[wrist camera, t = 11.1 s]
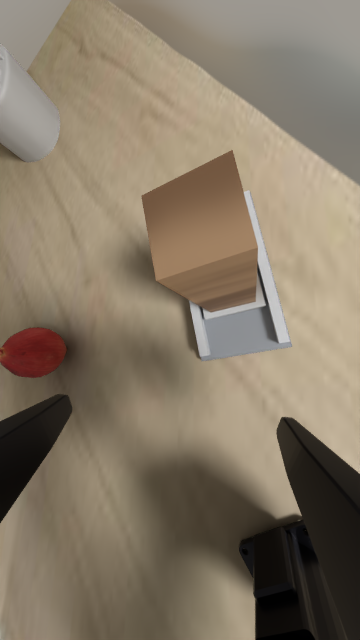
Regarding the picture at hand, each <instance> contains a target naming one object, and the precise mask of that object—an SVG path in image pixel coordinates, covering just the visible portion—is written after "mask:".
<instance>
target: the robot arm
mask: <svg viewBox="0 0 360 640" xmlns="http://www.w3.org/2000/svg"><path fill="white" fill-rule="evenodd" d="M71 413H72V405H71V402H70V399H69V396H68V395H65V394H57V395H55V396H53V397H51V398H49V399H47V400H44V401H42V402H40V403H38V404H36V405H34V406H32V407H30V408H28V409H25V410H23V411H21V412H19V413H17V414H15V415H13V416H11V417H8V418H6V419H4V420H2V421H0V523H1V521H2V520H3V518H4V517H5V516H6V514H7V513H8V511H9V510H10V508H11V507H12V505H13V504H14V502H15V501H16V499H17V498H18V497H19V495H20V494H21V492H22V491H23V489H24V488H25V486H26V485H27V483H28V482H29V480H30V479H31V478H32V476H33V475H34V473H35V472H36V470H37V469H38V467H39V466H40V464H41V463H42V461H43V460H44V459H45V457H46V456H47V454H48V453H49V451H50V450H51V448H52V447H53V445H54V443H55V442H56V440H57V438H58V436H59V435H60V433H61V431H62V429H63V427H64V426H65V424H66V422H67V420H68V419H69V417H70V415H71ZM277 439H278V443H279V446H280V450H281V454H282V458H283V462H284V466H285V469H286V473H287V476H288V479H289V482H290V485H291V488H292V490H293V493H294V496H295V499H296V501H297V504H298V507H299V509H300V512H301V515H302V517H303V520H301V521H298V522H295V523H292V524H289V525H286V526H283V527H278V528H275V529H272V530H270V531H267V532H264V533H261V534H258V535H255V536H254V537H251V538H248V539H245V540H242V541H241V542H240V544H239V552H240V554H241V556H242V558H243V560H244V562H245V564H246V566H247V567H248V569H249V571H250V573H251V575H252V577H253V594H254V597H255V640H360V474H359V473H358V472H357V471H356V470H354V469H353V468H352V467H351V466H350V465H348V464H347V463H346V462H345V461H344V460H343V459H341V458H340V457H339V456H338V455H337V454H335V453H334V452H333V451H332V450H331V449H329V448H328V447H327V446H326V445H325V444H323V443H322V442H321V441H320V440H319V439H317V438H316V437H315V436H314V435H313V434H311V433H310V432H309V431H308V430H307V429H306V428H304V427H303V426H302V425H301V424H300V423H298V422H297V421H296V420H295V419H293V418H290V417H282V418H281V420H280V422H279V425H278V428H277ZM304 528H306V529H307V531H304V530H303V529H304ZM243 548H245V549H247V550H244V549H243Z"/></svg>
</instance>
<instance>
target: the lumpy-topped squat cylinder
mask: <svg viewBox="0 0 360 640" xmlns="http://www.w3.org/2000/svg"><path fill="white" fill-rule="evenodd" d="M59 130H60V118H59V112H58V109H57V107H56V106H55V105H54V103H53V102H52V101H51V100H50V99H49V98H48V96H47V95H46V94H45V93H44V92H43V91H42V89H41V88H40V87H39V86H38V85H37V84H36V82H35V81H34V80H33V79H32V78H31V77H30V75H29V74H28V73H27V72H26V71H25V70H24V69H23V67H22V66H21V65H20V64H19V63H18V61H17V60H16V59H15V58H14V57H13V56H12V55H11V53H10V52H9V51H8V50H7V49H6V48H5V47H4V46H3V45H2V44H0V143H1V144H2V145H4V146H5V147H6V148H8V149H9V150H10V151H12V152H13V153H14V154H15V155H17V156H18V157H19V158H21V159H22V160H23V161H25V162H35V161H39V160H41V159H43V158H44V157H46V156H47V155H48V154H49V153H50V152H51V151H52V149H53V148H54V146H55V144H56V142H57V139H58V136H59Z"/></svg>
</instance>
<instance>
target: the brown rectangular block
mask: <svg viewBox="0 0 360 640" xmlns="http://www.w3.org/2000/svg"><path fill="white" fill-rule="evenodd" d="M142 202H143V208H144V214H145V219H146V225H147V231H148V237H149V243H150V248H151V254H152V260H153V266H154V272H155V278H156V281H157V282H159V283H161V284H162V285H164V286H166V287H168V288H169V289H171V290H173V291H175V292H176V293H178V294H180V295H181V296H183V297H185V298H187V299H188V300H190V301H192V302H194V303H195V304H197V305H199V306H200V307H202V308H203V313H204V318H205V320H210V319H214V318H218V317H223V316H227V315H231V314H236V313H240V312H244V311H249V310H253V309H257V308H262V307H265V306H266V304H265V300H264V297H263V293H262V289H261V285H260V281H259V277H258V273H257V262H258V245H257V241H256V237H255V233H254V230H253V226H252V222H251V218H250V215H249V211H248V207H247V203H246V200H245V196H244V192H243V188H242V184H241V181H240V177H239V173H238V169H237V166H236V162H235V158H234V154H233V150H231V151H229V152H227V153H225V154H223V155H221V156H219V157H217V158H216V159H214V160H212V161H210V162H208V163H206V164H204V165H202V166H200V167H198V168H196V169H194V170H192V171H190V172H188V173H186V174H184V175H182V176H180V177H178V178H176V179H174V180H172V181H170V182H168V183H166V184H164V185H162V186H160V187H158V188H156V189H154V190H152V191H150V192H148V193H146V194H144V195H142Z"/></svg>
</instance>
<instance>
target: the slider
mask: <svg viewBox="0 0 360 640" xmlns="http://www.w3.org/2000/svg"><path fill="white" fill-rule="evenodd" d="M244 196H245V200H246V203H247V207H248V211H249V215H250V218H251V222H252V226H253V230H254V233H255V237H256V241H257V245H258V262H257V273H258V277H259V281H260V285H261V289H262V293H263V297H264V300H265V304H266V306H265V307H262V308H257V309H253V310H249V311H244V312H240V313H236V314H231V315H227V316H223V317H218V318H214V319H210V320H205V318H204V313H203V308H202V307H200V306H199V305H197V304H195V303H194V302H192V301H190V300H189V303H190V308H191V314H192V319H193V324H194V329H195V334H196V339H197V344H198V349H199V354H200V357H201V360H202V361H207V360H213V359H219V358H226V357H232V356H238V355H244V354H250V353H257V352H263V351H269V350H275V349H282V348H288V347H292V344H291V340H290V336H289V333H288V329H287V325H286V322H285V318H284V314H283V311H282V307H281V303H280V300H279V296H278V292H277V288H276V285H275V281H274V277H273V274H272V270H271V266H270V263H269V259H268V255H267V252H266V248H265V244H264V241H263V237H262V233H261V230H260V226H259V222H258V218H257V215H256V211H255V207H254V204H253V200H252V196H251V193H250V191H249V190H248V191H246V192H244Z"/></svg>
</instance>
